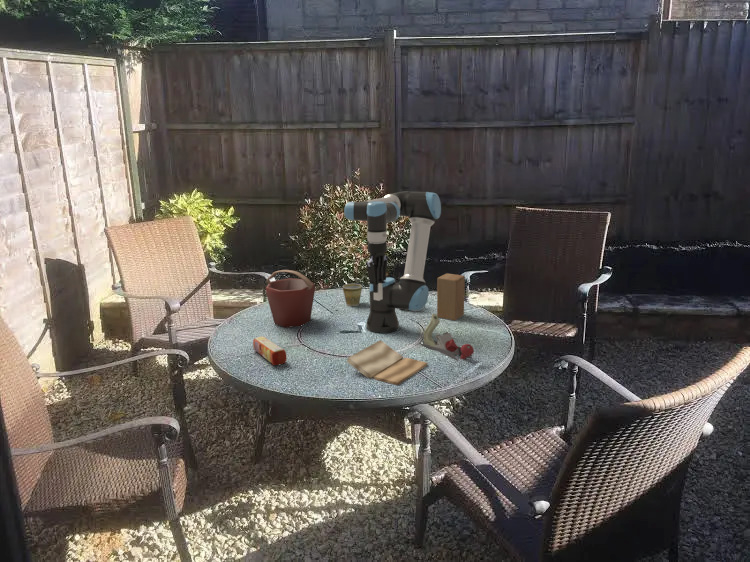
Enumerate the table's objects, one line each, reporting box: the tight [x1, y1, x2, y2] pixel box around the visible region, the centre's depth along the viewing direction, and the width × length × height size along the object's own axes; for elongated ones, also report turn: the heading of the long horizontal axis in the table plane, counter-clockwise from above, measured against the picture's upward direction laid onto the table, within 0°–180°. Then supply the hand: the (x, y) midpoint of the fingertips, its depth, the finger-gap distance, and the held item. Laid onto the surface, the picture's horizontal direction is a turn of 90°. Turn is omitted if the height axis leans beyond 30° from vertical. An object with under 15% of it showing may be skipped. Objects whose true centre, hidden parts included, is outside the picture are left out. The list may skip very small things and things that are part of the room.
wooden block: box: [436, 272, 466, 321], centre depth 304 cm, size 10×10×20 cm
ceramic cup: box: [342, 283, 363, 307], centre depth 327 cm, size 13×10×10 cm
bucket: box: [265, 269, 316, 328], centre depth 300 cm, size 24×22×25 cm
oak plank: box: [374, 357, 428, 386], centre depth 241 cm, size 10×22×2 cm, turn 146°
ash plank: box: [346, 339, 404, 379], centre depth 246 cm, size 13×22×2 cm, turn 146°
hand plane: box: [418, 313, 475, 361], centre depth 260 cm, size 7×31×15 cm, turn 33°
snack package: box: [252, 335, 287, 366], centre depth 259 cm, size 21×7×7 cm, turn 32°
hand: (378, 299), depth 252 cm, fingers closed
